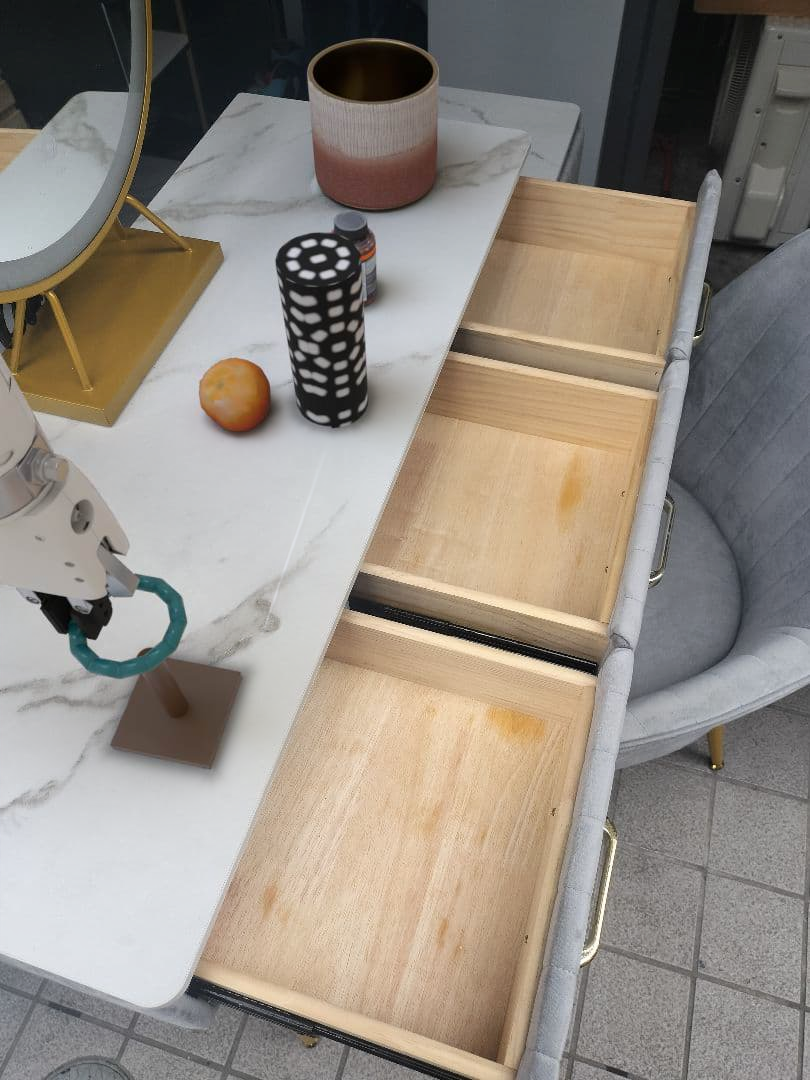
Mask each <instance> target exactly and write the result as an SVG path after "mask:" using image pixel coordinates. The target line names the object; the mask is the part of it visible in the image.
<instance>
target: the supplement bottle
mask: <svg viewBox="0 0 810 1080" xmlns="http://www.w3.org/2000/svg"><path fill="white" fill-rule="evenodd" d="M329 233H333V234H337V235H340V236H343V237H345V238H347V239H349V240H350V241H352V242H353V243H354V244H355V245H356V246H357V247H358V249H359V251H360V253H361V264H362V284H363V305H364V308H365V307H367V306H370V305H371V304H372V303H373V302H374V301H375V299H376V297H377V292H378V291H377V290H378V282H377V281H378V279H377V277H378V276H377V275H378V274H377V240H376V235H375V234H374V232H373V231H372V230H371V228H369V226H368V218H367V216H366V215H365V213H363V212H361V211H359V210H353V209H348V210H343V211H341V212H339V213H337V214H336V215H335V216H334V218H333V229H332V230H331V231H330V232H329Z"/></svg>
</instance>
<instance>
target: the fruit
mask: <svg viewBox="0 0 810 1080" xmlns="http://www.w3.org/2000/svg"><path fill="white" fill-rule="evenodd" d="M198 383H199V385H198V397H199V405H200V408H201V409H202V411H204V413H205V414H206V415H207V416H208V417H209V418H210V419H211V420H212V421H214V423H216V424H218V425H219V426H220V427H222V428H223V429H226V430H228V431H232V432H247V431H250V430H253V429H255V428H256V427H257V426H258V425H260V424H262V423H263V422H264V421H265V419H266V418H267V416H268V415H269V412H270V411H269V410H270V409H271V385H270V381H269V379H268V377H267V375H266V373H265V372H264V370H263V369H262V367H260V366H259V365H258V364H256V363H255V362H252V361H250V360H248V359H245V358H239V357H229V358H226V359H222V360H219V361H218V362H216V363H214V364H213V365H212V366H210V367H209V368H208V369H207V371H205V373H204V374H203V376H202V378H201V379H200V380H199V382H198Z"/></svg>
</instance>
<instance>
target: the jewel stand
mask: <svg viewBox="0 0 810 1080" xmlns="http://www.w3.org/2000/svg"><path fill="white" fill-rule="evenodd" d="M152 648H153V647H145V648H143V649H142V650H140V651H139V652H138V653H137V655H136V656H135V658H137V657H140V656H144V655H145V654H146V653H148V652H149V651H150V650H151V649H152ZM138 675H139V676H138V678H137V680H136V683H135V685H134V687H133V690H132V692H131V694H130V697H129V699H128V702H127V704H126V706H125V709H124V711H123V713H122V716H121V717H120V721H119V723H118V725H117V728H116V730H115V733H114V735H113V737H112V739H111V741H110V747H111V748H112V749H113V750H116V751H121V752H125V753H131V754H136V755H140V756H145V757H149V758H154V759H158V760H164V761H167V762H172V763H173V762H174V763H178V764H183V765H188V766H191V767H192V766H193V767H197V768H200V769H201V768H202V769H207V770H211V769H212V765H213V762H214V760H215V756H216V754H217V751H218V748H219V745H220V743H221V739H222V736H223V734H224V731H225V727H226V724H227V722H228V719H229V716H230V713H231V710H232V708H233V705H234V701H235V698H236V696H237V692H238V690H239V687H240V684H241V681H242V678H243V675H242V673H241V671H238V670H232V669H228V668H224V667H223V668H222V667H217V666H213V665H207V664H203V663H198V662H197V663H196V662H192V661H187V660H182V659H176V658H171V657H168V658H166V659H165V660H164V661H163V662H162V663H161V664H159V665H158V666H157V667H156V668H155V669H153V670H152V671H149V672H146V673H142V674H138Z"/></svg>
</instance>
